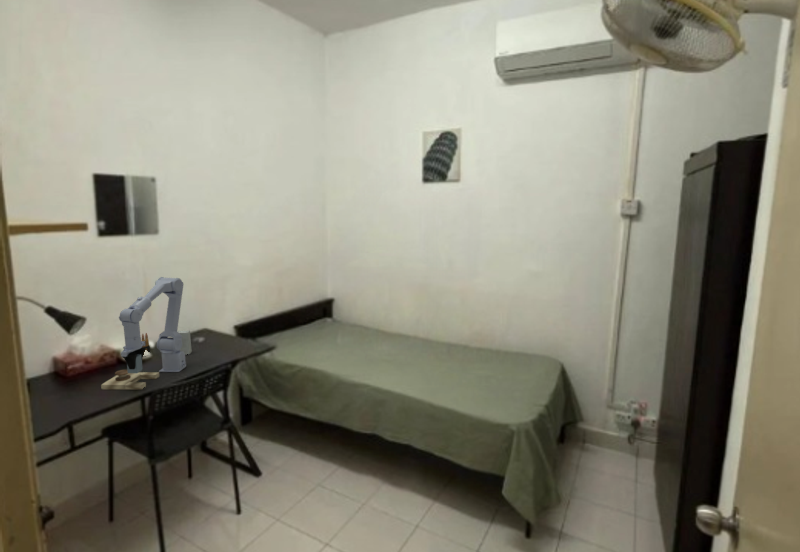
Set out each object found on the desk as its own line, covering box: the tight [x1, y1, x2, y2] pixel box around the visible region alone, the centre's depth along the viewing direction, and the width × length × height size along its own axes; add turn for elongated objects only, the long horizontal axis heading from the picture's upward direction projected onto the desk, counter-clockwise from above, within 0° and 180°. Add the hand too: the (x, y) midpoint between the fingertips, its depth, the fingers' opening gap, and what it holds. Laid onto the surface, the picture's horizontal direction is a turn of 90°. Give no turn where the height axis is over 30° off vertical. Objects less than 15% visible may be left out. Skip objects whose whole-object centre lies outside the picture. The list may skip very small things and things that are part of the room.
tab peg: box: [126, 354, 143, 373], centre depth 184 cm, size 4×4×7 cm
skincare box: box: [177, 330, 192, 356], centre depth 226 cm, size 6×4×12 cm
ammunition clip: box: [141, 332, 151, 353], centre depth 220 cm, size 11×2×12 cm, turn 151°
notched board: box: [100, 369, 160, 390], centre depth 189 cm, size 17×14×5 cm
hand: (135, 367), depth 185 cm, fingers closed on tab peg, 4 cm apart
